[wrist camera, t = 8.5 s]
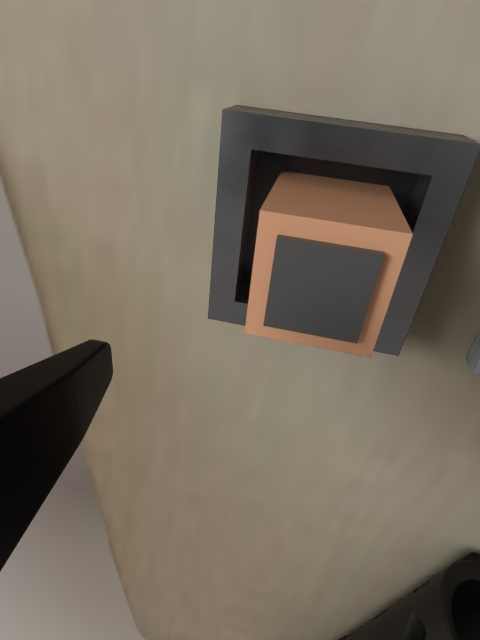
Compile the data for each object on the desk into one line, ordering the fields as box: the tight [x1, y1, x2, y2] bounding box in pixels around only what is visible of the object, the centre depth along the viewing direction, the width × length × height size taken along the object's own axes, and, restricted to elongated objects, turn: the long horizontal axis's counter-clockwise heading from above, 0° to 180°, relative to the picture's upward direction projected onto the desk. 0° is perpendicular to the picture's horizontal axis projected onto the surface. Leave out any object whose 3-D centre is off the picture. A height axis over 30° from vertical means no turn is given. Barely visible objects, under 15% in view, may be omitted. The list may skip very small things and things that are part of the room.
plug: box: [245, 171, 413, 358], centre depth 15 cm, size 4×4×6 cm
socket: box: [208, 105, 480, 356], centre depth 17 cm, size 9×9×2 cm
